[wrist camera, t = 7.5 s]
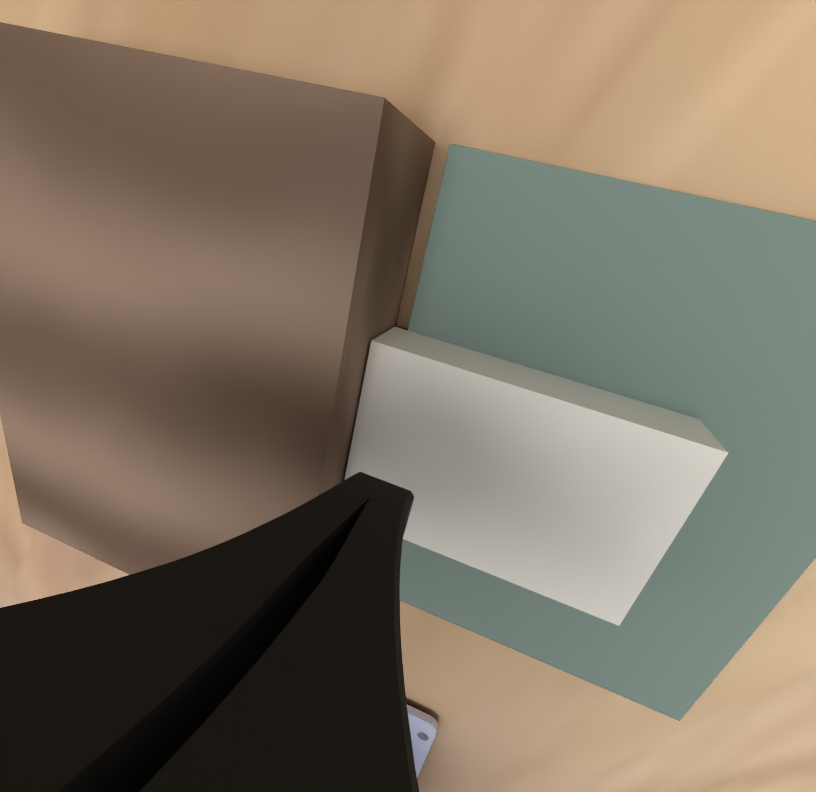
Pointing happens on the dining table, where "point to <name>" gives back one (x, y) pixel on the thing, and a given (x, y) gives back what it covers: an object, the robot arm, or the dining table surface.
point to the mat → (638, 397)
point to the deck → (187, 288)
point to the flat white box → (529, 469)
